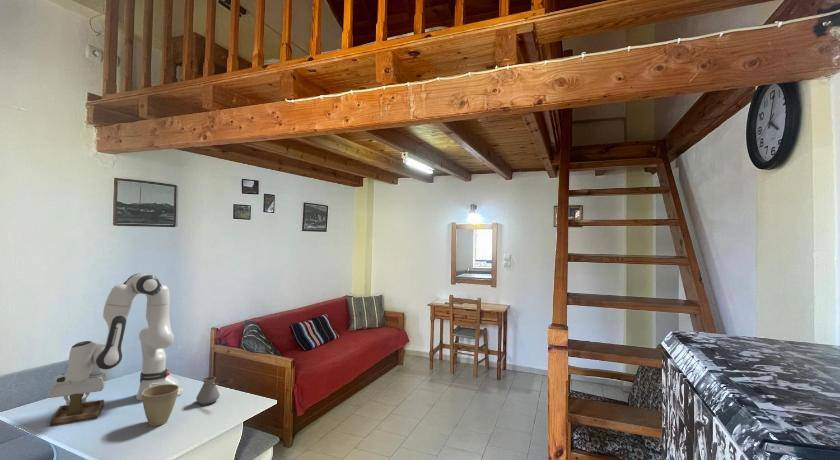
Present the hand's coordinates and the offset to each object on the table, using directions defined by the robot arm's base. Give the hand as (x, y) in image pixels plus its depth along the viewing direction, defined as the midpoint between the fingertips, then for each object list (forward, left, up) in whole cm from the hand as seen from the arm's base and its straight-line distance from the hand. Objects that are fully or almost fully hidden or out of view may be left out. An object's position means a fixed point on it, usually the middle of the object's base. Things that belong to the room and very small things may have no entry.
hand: (76, 402), depth 179 cm
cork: (0, 0, -6) cm, 6 cm away
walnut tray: (-1, -1, -7) cm, 7 cm away
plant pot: (-35, +26, -7) cm, 44 cm away
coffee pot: (-60, +14, -7) cm, 62 cm away
